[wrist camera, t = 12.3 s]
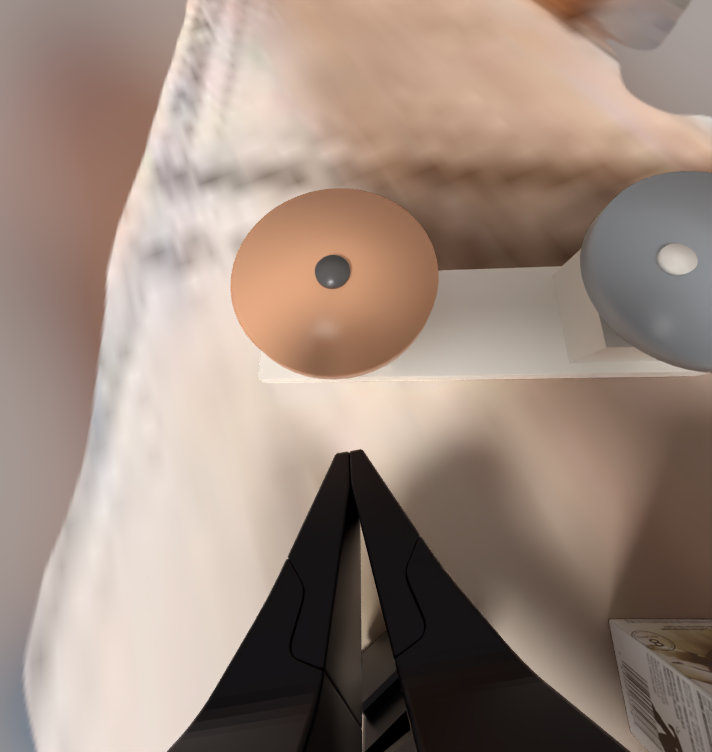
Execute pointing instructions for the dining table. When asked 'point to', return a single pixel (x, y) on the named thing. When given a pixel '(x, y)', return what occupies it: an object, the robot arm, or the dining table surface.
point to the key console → (508, 333)
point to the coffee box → (666, 681)
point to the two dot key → (656, 267)
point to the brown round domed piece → (335, 283)
